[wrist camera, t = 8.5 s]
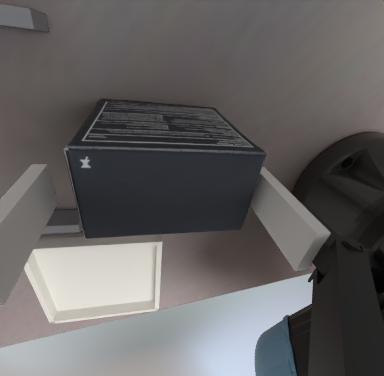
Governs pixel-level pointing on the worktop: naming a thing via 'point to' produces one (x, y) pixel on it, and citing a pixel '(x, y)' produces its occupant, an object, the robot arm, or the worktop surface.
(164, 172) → the small box
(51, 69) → the worktop surface
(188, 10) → the worktop surface
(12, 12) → the bay
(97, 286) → the tray
